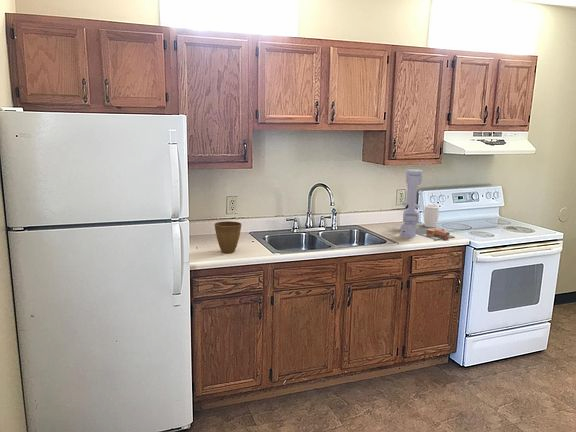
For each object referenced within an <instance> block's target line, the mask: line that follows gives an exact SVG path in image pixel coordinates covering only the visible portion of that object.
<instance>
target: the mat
mask: <svg viewBox="0 0 576 432" xmlns="http://www.w3.org/2000/svg"><path fill="white" fill-rule="evenodd" d="M427 230H428V228H425V227H424V228H423V227H416V233H415V235H416V236H421V237H425V238H427V239H432V240H433V241H434V242H435V241H442V240H444V239H443V238H439V237H436V236H434V237H429V236H426V232H427ZM449 239H455V236H453V235H449Z"/></svg>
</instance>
